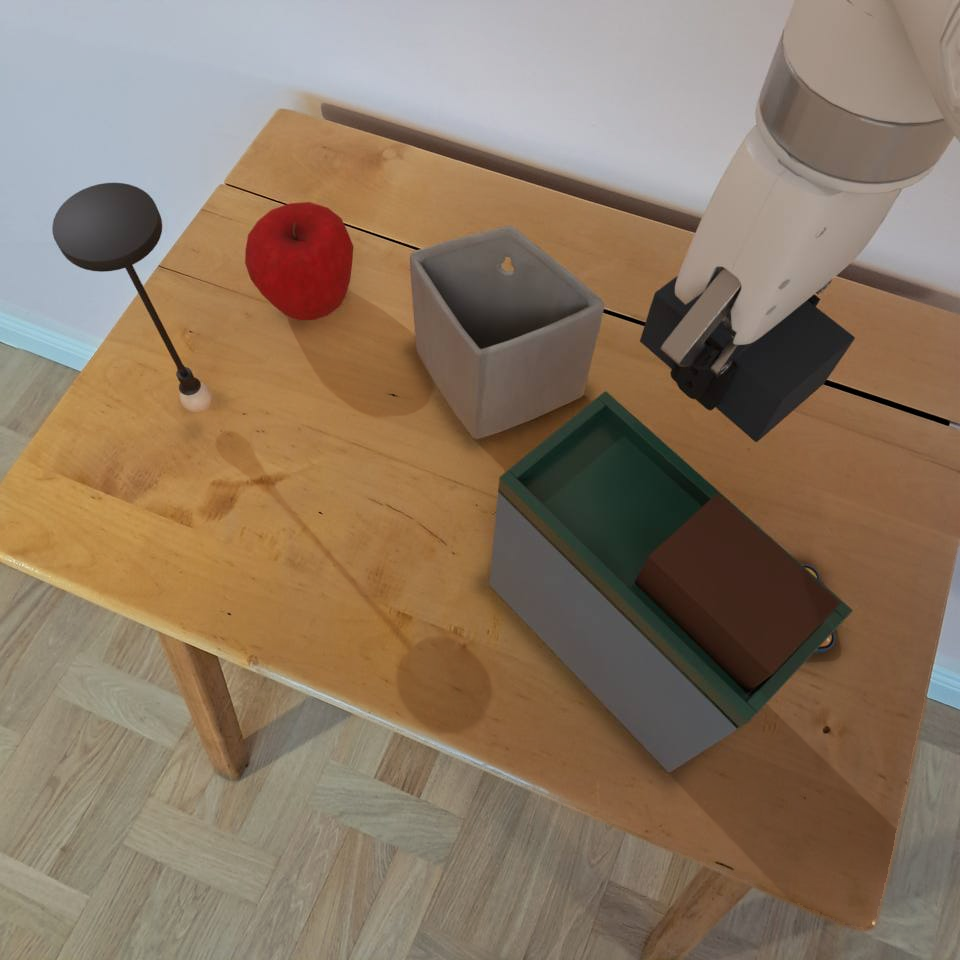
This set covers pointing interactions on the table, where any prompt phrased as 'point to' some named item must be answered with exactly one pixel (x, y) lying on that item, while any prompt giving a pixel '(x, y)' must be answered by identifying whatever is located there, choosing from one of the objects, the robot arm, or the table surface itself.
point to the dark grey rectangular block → (761, 360)
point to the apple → (300, 259)
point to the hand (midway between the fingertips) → (733, 357)
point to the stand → (600, 645)
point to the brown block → (734, 592)
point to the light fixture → (121, 253)
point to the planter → (502, 328)
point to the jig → (634, 533)
